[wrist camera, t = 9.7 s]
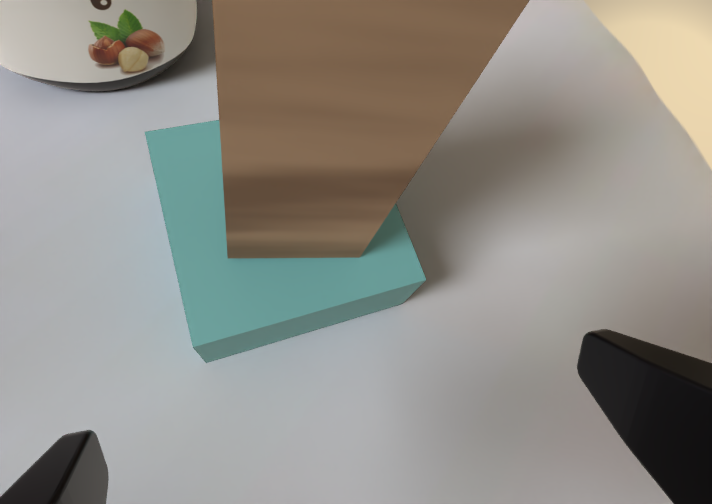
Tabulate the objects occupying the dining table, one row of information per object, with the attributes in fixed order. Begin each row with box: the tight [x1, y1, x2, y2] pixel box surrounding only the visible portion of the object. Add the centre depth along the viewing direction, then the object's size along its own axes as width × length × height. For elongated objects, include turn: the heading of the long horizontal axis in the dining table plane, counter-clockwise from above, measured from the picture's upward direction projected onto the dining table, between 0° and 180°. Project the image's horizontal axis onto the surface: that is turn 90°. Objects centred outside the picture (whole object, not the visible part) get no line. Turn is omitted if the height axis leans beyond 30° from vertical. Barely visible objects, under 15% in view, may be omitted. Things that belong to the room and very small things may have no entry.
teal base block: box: [145, 120, 426, 363], centre depth 20 cm, size 9×9×4 cm
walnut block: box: [212, 0, 529, 258], centre depth 13 cm, size 5×5×13 cm
